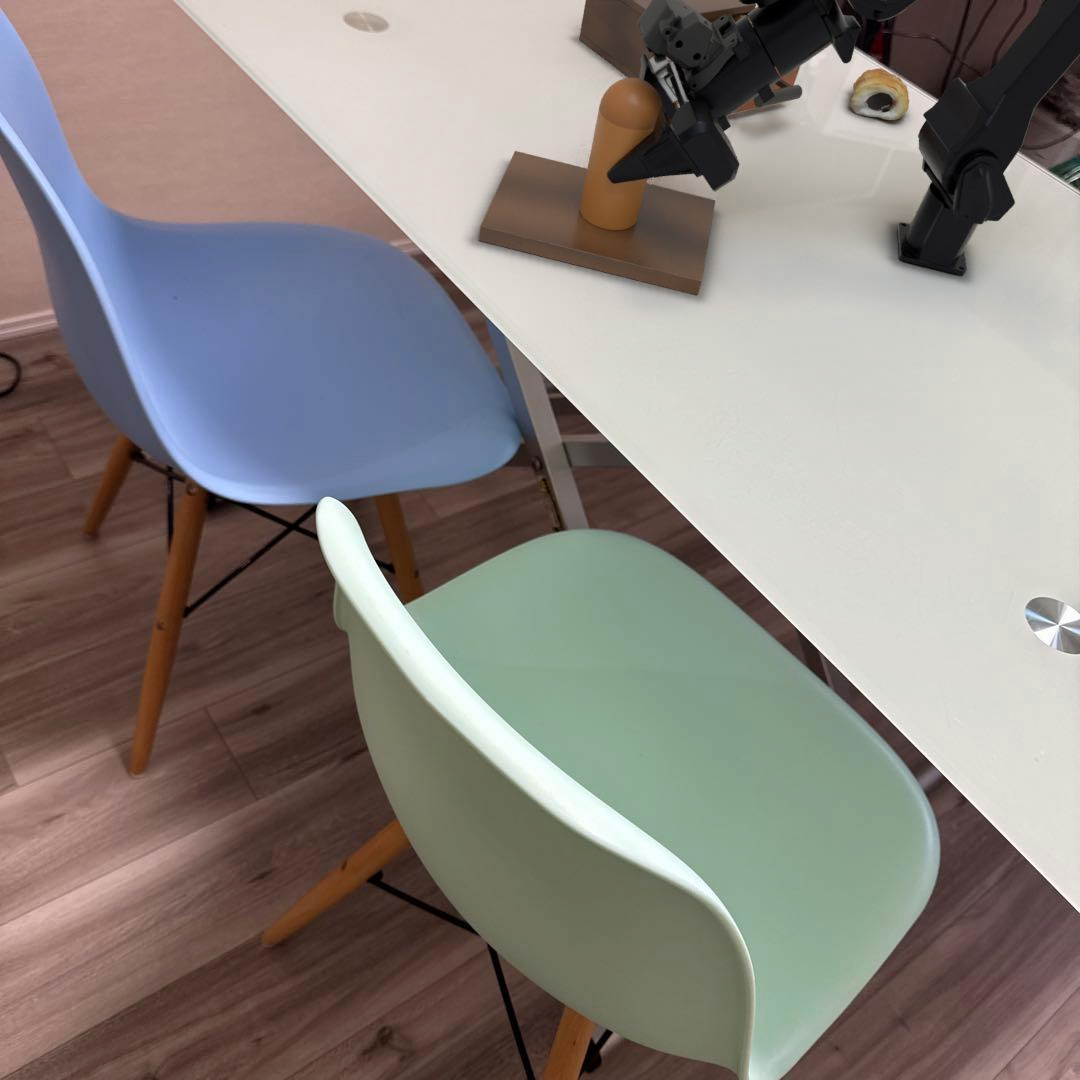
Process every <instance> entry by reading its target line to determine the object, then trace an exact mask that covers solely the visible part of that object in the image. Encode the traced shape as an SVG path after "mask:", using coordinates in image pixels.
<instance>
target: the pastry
mask: <svg viewBox="0 0 1080 1080" xmlns="http://www.w3.org/2000/svg"><path fill="white" fill-rule="evenodd" d="M852 91H853V94H852V96H851V99H850V109H851V110H852V111H853V112H854V113H855V114H857V115H860V116H864V117H867V118H878V119H879V118H880V119H882V120H884V121H885V120H886V121H897V120H899V119H901V118H902V117H903V116H904V115H905V114H906V113H907V112H908V110H909V104H910V99H909V90H908V85H907V84H906V83H904V82H903V80H902V79H901V78H900V77H899V76H897V75H896V74H894V73H890V72H889V71H887V70H885V69H883V68H874V69H867V70H865V71H864V72H863V73H861V75H860V76H859V77H858V78H857V79H856V81H854V83H853V85H852Z"/></svg>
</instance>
